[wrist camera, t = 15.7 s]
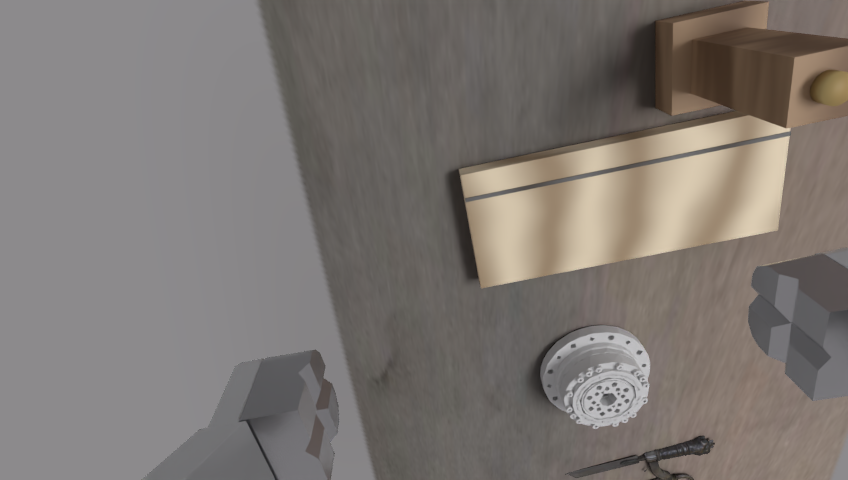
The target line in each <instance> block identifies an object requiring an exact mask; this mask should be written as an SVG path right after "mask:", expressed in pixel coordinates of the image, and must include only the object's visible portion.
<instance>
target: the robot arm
mask: <svg viewBox="0 0 848 480" xmlns="http://www.w3.org/2000/svg"><path fill="white" fill-rule="evenodd" d="M751 286H752V288H753V289H754V290H755V291H756V292H757V293H758V294H759V295H758V296H757V297H756V298H755V300H754V301H753V302H752V303H751V305H750V306H749V315H748V323H749V326H750V330H751V333H752V336H753V338H754V340H755V341H756V343H757V344H758V346H759V347H760V348H761V349H762V350H763V351H764V352H765V354H766V355H767V356H769V357H771V358H774V359H776V360H779V361H782V362H784V363H785V374H786V375H787V376H788V377H789V378H790V379H791V380H792V381H793V382H794V383H795V384H796V385H797V386H798V387H799V388H800V389H801V390H802V391H803V392H804V393H805V394H806V395H807V396H808V397H809V398H810V399H811V400H812V401H815V400H822V399H829V398H836V397H842V396H848V248H840V249H836V250H831V251H827V252H822V253H817V254H815V255H812V256H807V257H802V258H797V259H792V260H787V261H782V262H777V263H771V264H766V265H761V266H757V267H756V269H755V271H754V273H753V276H752V284H751ZM324 371H325V364H324V362H323V359H322V357H321V354H320V353H319V352H318V351H317V350H310V351H304V352H298V353H293V354H286V355H280V356H275V357H269V358H265V359H258V360H252V361H248V362H242V363H240V364H238V365H237V366H235V368H234V370H233V372H232V375H231V377H230V379H229V381H228V384H227V386H226V388H225V390H224V393H223V395H222V397H221V399H220V402H219V404H218V406H217V409H216V411H215V413H214V415H213V417H212V420H211V422H210V424H209V426H208V428H204V429H200V430H198V431H197V432H196V433H195V434H194V435H193V436H191V437H190V438H189V439H188V440H187V441H186V442H185V443H183V444H182V445H181V446H180V447H179V448H178V449H177V450H175V451H174V452H173V453H172V454H171V455H170V456H168V457H167V458H166V459H165V460H164V461H163V462H161V463H160V464H159V465H158V466H157V467H156V468H155V469H153V470H152V471H151V472H150V473H149V474H148V475H147V476H145V477H144V478H143V479H142V480H331V473H332V467H333V460H334V454H335V453H334V451H333V448H332V446H331V443H330V442H331V440H332V439H333V438H334V437H335V436H336V435H337V433H338V425H339V413H338V412H339V410H338V402H337V398H336V393H335V390H334V388H333V385H332V384H331V383H330V382H328V381H327V380H326V379H324V378H323V376H324Z"/></svg>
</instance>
